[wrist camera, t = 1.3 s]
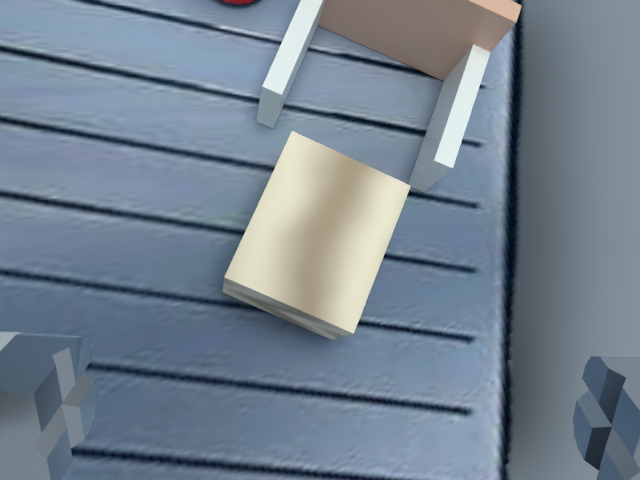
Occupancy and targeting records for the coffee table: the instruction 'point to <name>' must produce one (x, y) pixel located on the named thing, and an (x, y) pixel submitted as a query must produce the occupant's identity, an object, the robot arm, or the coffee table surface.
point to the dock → (405, 58)
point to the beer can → (238, 1)
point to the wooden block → (316, 238)
